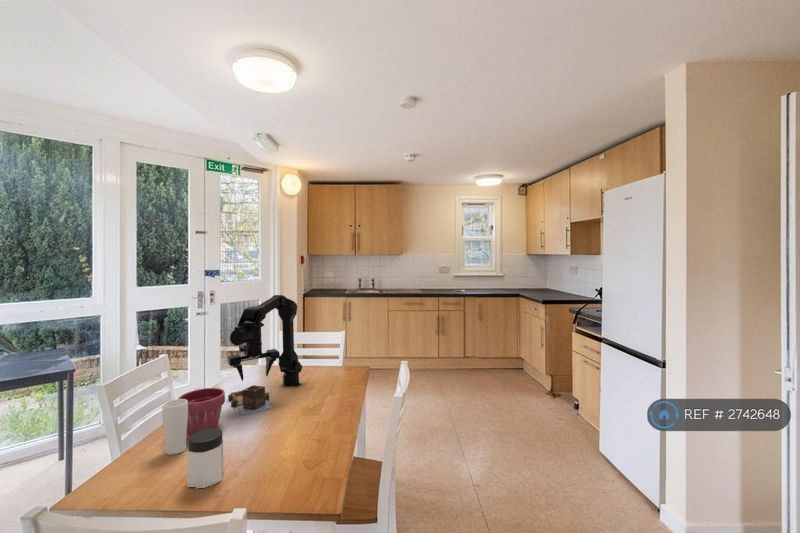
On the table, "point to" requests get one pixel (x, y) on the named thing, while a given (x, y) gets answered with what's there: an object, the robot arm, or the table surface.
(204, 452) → the jar
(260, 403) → the box
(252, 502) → the table surface
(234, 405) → the bed
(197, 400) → the plant pot
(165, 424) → the drinking glass
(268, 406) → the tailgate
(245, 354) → the robot arm
